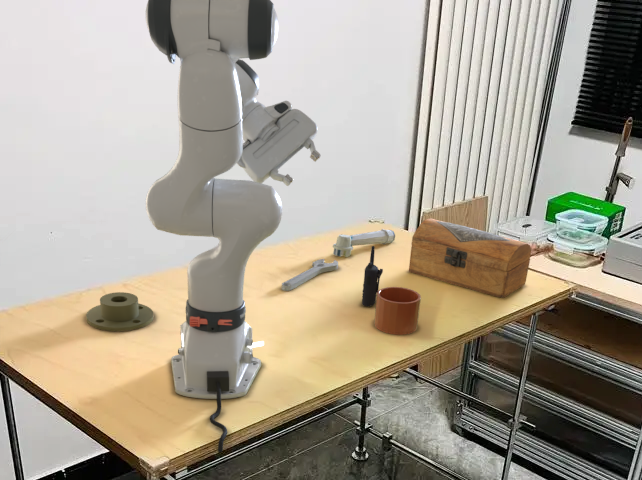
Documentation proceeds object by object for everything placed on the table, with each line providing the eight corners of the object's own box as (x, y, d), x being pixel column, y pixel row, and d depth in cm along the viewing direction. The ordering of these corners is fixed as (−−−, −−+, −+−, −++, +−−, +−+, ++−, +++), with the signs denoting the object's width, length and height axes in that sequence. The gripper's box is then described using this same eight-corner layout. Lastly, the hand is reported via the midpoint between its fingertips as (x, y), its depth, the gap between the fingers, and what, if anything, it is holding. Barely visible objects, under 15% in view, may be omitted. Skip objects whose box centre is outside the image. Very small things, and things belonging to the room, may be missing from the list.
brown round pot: (419, 335, 191) (423, 304, 187) (376, 333, 190) (379, 302, 186) (414, 318, 200) (417, 287, 196) (372, 316, 199) (375, 285, 195)
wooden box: (405, 272, 229) (410, 224, 222) (434, 258, 241) (439, 213, 234) (500, 301, 214) (509, 251, 208) (526, 285, 227) (535, 237, 220)
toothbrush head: (398, 231, 249) (344, 235, 231) (394, 252, 251) (341, 257, 233) (385, 227, 252) (331, 230, 234) (381, 248, 254) (328, 252, 236)
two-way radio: (364, 299, 209) (368, 243, 201) (380, 301, 208) (386, 245, 201) (360, 307, 204) (365, 250, 197) (377, 309, 203) (383, 252, 196)
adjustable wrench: (288, 292, 209) (288, 286, 208) (268, 286, 212) (268, 279, 211) (341, 267, 228) (341, 261, 227) (322, 262, 231) (323, 256, 230)
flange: (113, 317, 176) (166, 299, 187) (71, 298, 184) (124, 282, 194) (115, 337, 178) (166, 318, 189) (73, 317, 186) (125, 300, 197)
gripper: (230, 148, 178) (275, 191, 178) (292, 96, 184) (336, 137, 184) (227, 163, 184) (271, 204, 184) (288, 112, 190) (330, 152, 190)
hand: (304, 170), depth 184 cm, fingers open, 8 cm apart
